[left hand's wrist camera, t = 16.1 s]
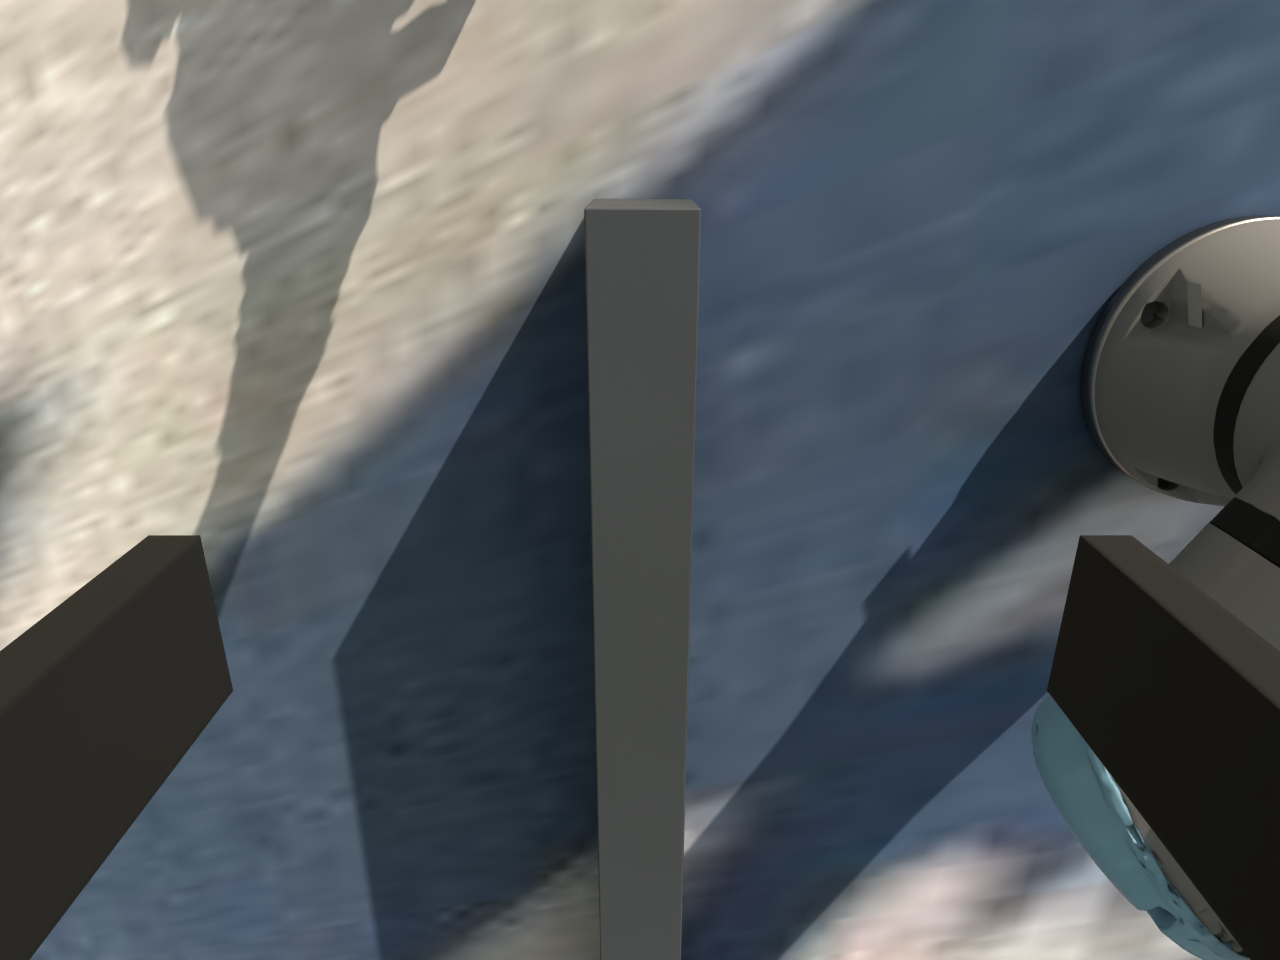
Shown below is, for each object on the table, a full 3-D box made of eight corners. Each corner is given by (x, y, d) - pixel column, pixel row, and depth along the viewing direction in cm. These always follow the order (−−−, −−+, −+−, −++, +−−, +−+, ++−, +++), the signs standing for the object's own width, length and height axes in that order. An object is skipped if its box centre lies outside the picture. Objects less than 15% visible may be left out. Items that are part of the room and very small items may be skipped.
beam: (593, 199, 43) (584, 208, 36) (691, 199, 43) (701, 208, 36) (608, 1036, 65) (604, 1142, 58) (672, 1036, 65) (675, 1142, 58)
